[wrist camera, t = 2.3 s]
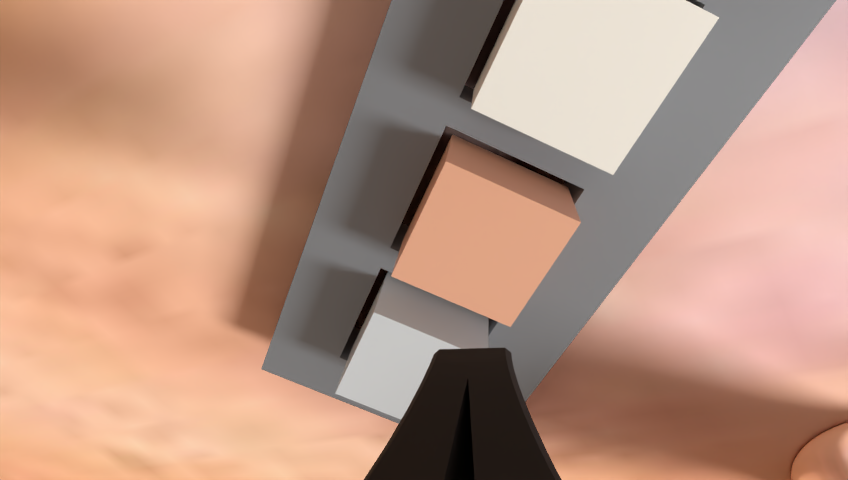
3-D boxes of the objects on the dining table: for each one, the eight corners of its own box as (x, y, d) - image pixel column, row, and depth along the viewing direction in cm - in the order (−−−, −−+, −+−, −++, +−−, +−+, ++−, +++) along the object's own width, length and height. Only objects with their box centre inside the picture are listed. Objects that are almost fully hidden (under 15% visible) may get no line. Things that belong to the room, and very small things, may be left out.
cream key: (680, 10, 13) (719, 17, 11) (594, 145, 15) (613, 175, 13) (543, -60, 12) (554, -68, 10) (473, 88, 14) (470, 108, 12)
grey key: (488, 313, 18) (488, 360, 16) (443, 384, 20) (438, 434, 18) (388, 270, 18) (374, 312, 15) (352, 347, 20) (334, 393, 17)
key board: (817, -38, 13) (867, -40, 11) (483, 419, 23) (482, 456, 21) (481, -219, 12) (480, -250, 11) (279, 337, 22) (261, 369, 20)
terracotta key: (568, 187, 15) (581, 222, 13) (508, 282, 17) (510, 327, 15) (452, 134, 15) (445, 161, 13) (403, 237, 17) (391, 275, 15)
